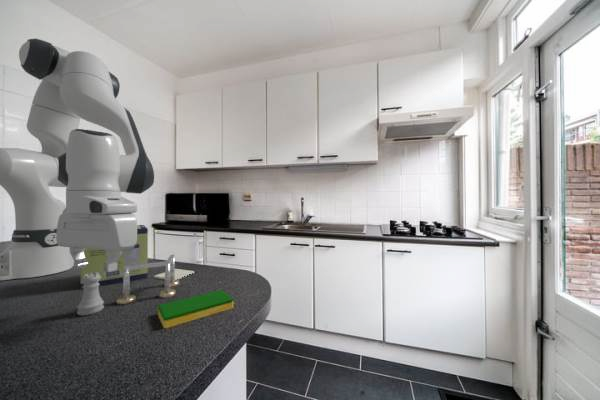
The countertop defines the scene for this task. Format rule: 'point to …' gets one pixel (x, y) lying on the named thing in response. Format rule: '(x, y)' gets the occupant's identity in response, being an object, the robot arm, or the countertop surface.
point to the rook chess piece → (90, 295)
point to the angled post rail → (168, 265)
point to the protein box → (119, 261)
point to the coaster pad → (178, 274)
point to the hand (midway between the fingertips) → (95, 269)
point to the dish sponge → (193, 308)
